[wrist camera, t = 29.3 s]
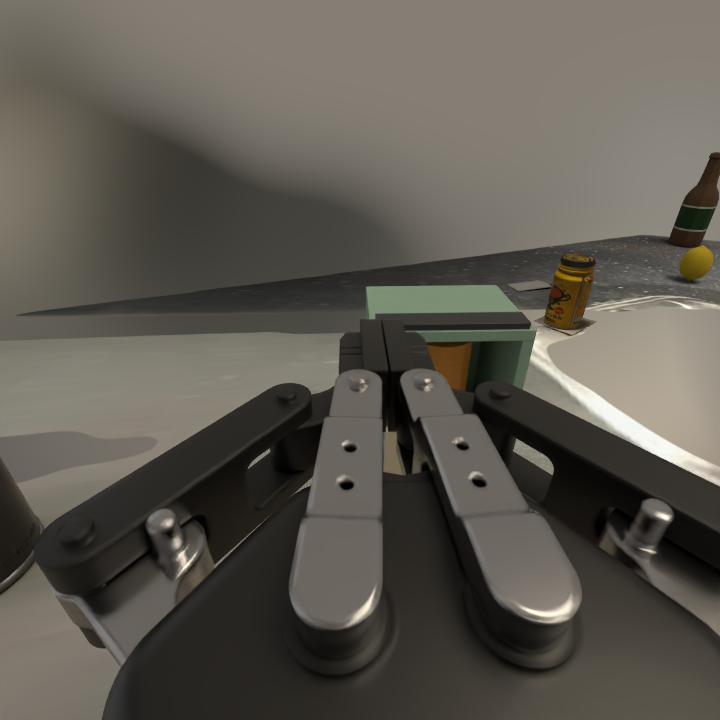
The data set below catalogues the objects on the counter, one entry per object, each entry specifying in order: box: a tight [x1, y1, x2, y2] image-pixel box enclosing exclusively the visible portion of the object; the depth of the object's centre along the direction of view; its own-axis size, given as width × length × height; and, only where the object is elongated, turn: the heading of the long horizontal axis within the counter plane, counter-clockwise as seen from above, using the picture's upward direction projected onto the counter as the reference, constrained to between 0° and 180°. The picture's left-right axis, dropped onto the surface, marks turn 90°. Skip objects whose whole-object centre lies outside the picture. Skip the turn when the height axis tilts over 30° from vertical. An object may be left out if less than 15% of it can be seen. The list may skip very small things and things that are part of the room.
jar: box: [426, 341, 473, 391], centre depth 43 cm, size 6×6×13 cm
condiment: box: [535, 254, 596, 335], centre depth 71 cm, size 7×8×12 cm
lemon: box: [679, 246, 713, 281], centre depth 91 cm, size 6×6×8 cm
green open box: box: [366, 285, 537, 393], centre depth 43 cm, size 14×11×17 cm
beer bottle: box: [669, 153, 720, 248], centre depth 114 cm, size 8×8×24 cm
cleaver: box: [507, 280, 552, 292], centre depth 91 cm, size 13×1×5 cm
